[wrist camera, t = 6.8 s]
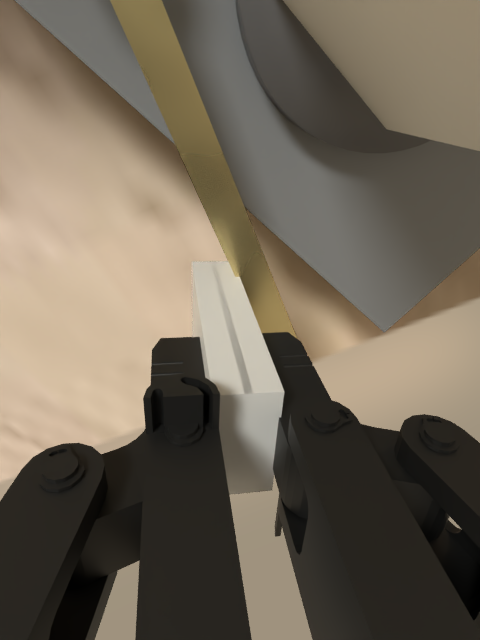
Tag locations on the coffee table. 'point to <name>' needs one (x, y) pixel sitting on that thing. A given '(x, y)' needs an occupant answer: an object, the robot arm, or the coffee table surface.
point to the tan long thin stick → (201, 153)
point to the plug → (369, 69)
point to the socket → (300, 162)
